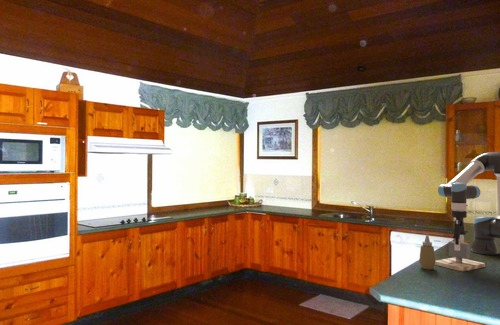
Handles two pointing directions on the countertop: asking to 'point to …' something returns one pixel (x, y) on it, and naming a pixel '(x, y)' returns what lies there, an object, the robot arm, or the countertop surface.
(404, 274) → the countertop surface
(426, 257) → the squeeze bottle
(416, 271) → the countertop surface
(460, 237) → the robot arm
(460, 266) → the base
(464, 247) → the grey block
